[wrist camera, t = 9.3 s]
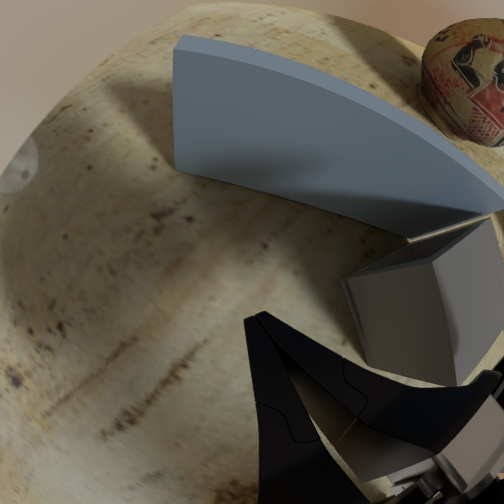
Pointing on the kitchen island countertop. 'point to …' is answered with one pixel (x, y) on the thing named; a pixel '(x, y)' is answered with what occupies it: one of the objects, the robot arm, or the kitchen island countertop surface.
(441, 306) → the camera case
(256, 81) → the side door
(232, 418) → the kitchen island countertop surface
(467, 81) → the ceramic jug
